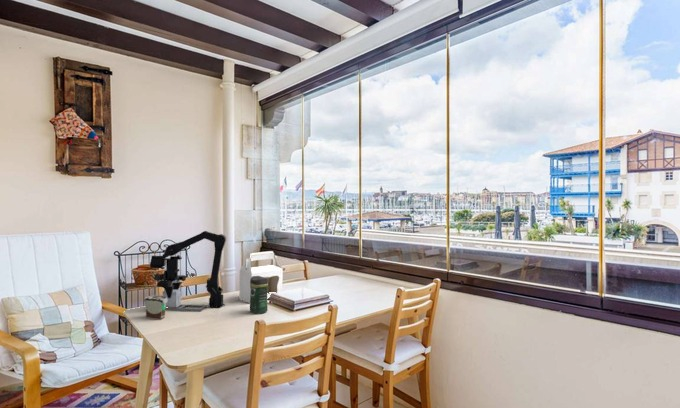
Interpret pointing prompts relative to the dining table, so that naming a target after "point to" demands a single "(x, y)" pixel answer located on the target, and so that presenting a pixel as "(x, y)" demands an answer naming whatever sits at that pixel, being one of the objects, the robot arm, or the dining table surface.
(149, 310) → the food container
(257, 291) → the coffee jar
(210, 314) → the dining table surface
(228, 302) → the dining table surface
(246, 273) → the gable box
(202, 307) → the rail
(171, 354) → the dining table surface
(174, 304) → the medicine box
